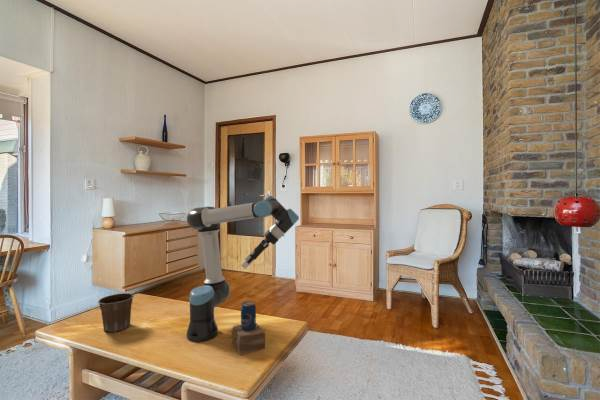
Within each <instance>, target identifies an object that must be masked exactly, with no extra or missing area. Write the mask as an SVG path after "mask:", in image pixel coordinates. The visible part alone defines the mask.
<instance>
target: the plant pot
mask: <svg viewBox="0 0 600 400" xmlns="http://www.w3.org/2000/svg"><path fill="white" fill-rule="evenodd" d="M133 298H134V294H132V293H130V292H129V293H127V292H125V293H123V292H122V293H115V294H110V295H107V296H104V297H101V298H100V299H98V301H97V302H98V304H99V309H100V311H101V318H102V319H101V320H102V326H103V332H105V331H108V332H107V333H117V331H118V332H120V331H124V330H125V329H126V328H127V327H128V328H129V327H130V325H131V316H132V314H131V313H132V304H133ZM123 329H124V330H123Z"/></svg>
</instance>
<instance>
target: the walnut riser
mask: <svg viewBox="0 0 600 400" xmlns="http://www.w3.org/2000/svg"><path fill="white" fill-rule="evenodd" d="M231 329H232V330H231V335H232V338H231V339H232V345H233V347H234V349H235V350H236V351H237V353H238V354H239V356H241V355H244V354H249V353H253V352H256V351H259V350H264V349H266V333H265V331H264V329H263V328H262V327H261V326H260V325H259V324H258V323H257V322H256V327H255V329H254V330H252V331H248V332H246V331H243V330H242V328H241V324H240V325H235V326H233V327H232V328H231Z"/></svg>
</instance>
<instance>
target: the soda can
mask: <svg viewBox="0 0 600 400" xmlns="http://www.w3.org/2000/svg"><path fill="white" fill-rule="evenodd" d="M256 310H257V308H256V304H255V302H254V301H244V302H242V303H241V307H240V325H241V328H242V330H243V331H246V332H248V331H252V330H254V329H255V327H256V323H257V311H256Z"/></svg>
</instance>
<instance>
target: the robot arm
mask: <svg viewBox="0 0 600 400" xmlns="http://www.w3.org/2000/svg"><path fill="white" fill-rule="evenodd" d="M269 216H271V217H272V218H274V219H275V222H274V223H273V224H272V225H271V226H270V227H269V229H267V231H266V232H264V234H263V236H264V237H265V238H264V239H262V241H261V242H259V244H257V246H255V248H254V249H253V250H252V251H251V252H250V253H249V254H248V255H247V256H246V257H245V258H244V260H245V261H244V262H243V263H242V264H241V265H240V266H241V267H242V268H243V269H244V270H246V269H247V268H248V267H249V266H250V265H251V264H252V263H253V262H254V261H256V260H257V258H258V257H259V256H260V255H261V254H262V253H263V251H265V250H266V249H267V248H268V247H269V246H270V243H271V244H272V245H275V244H276V243H277V242H278V241H279V240H280V239H281V238H282V237H285V234H287V232H289V230H290V229H291V228H292V227H293V226H294V225H295V224H296V223H297V222H298V221H299V219H300V216H299V215H298V214H297V213H296V212H295V211H294V210H293V209H292V208H288V209H287V208H286V207H284V206H283V205H282V204H281V203H280V202H279V201H278V199H277V198H275V197H274V196H273V195H269V196H267V197H266V198H265V199H264V200H259V201H255V202H249V203H243V204H238V205H236V204H235V205H231V206H224V207H215V206H204V207H203V206H202V207H195V208H193V209H191V210H190V211H188V213H187V216H186V222H187V224H188V226H189V227H190V228H191V229H193V230H197V232H198V234H199V235H201V241H202V242H201V243H202V252H203V260H204V261H203V262H204V270H205V271H204V272H205V280H204V281H203V285H200V286H197V287H195V288H193V289H191V291H190V293H189V301H188V302H189V324H188V326H187V331H186V340H188V341H189V342H196V343H197V342H198V343H199V342H200V343H201V342H206V341H209V340H212V339H214V338H215V337H217V335H218V333H219V327H218V325H217V322H216V319H215V308H216V307H218V306H219V305H221V304H222V303H223V304H224V302H225V301H227V299H228V297H230V294H231V287H230V285H229V284H230V283H228V282H227V281H226V277H224V276H223V272H222V271H223V269H222V263H221V254H220V253H221V252H220V245H219V236H218V234H219V232H220V231H221V227H220V226H221V224H223V223H230V222H236V221H242V220H243V221H244V220H249V219H250V220H251V219H258V218H266V217H269Z"/></svg>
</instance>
